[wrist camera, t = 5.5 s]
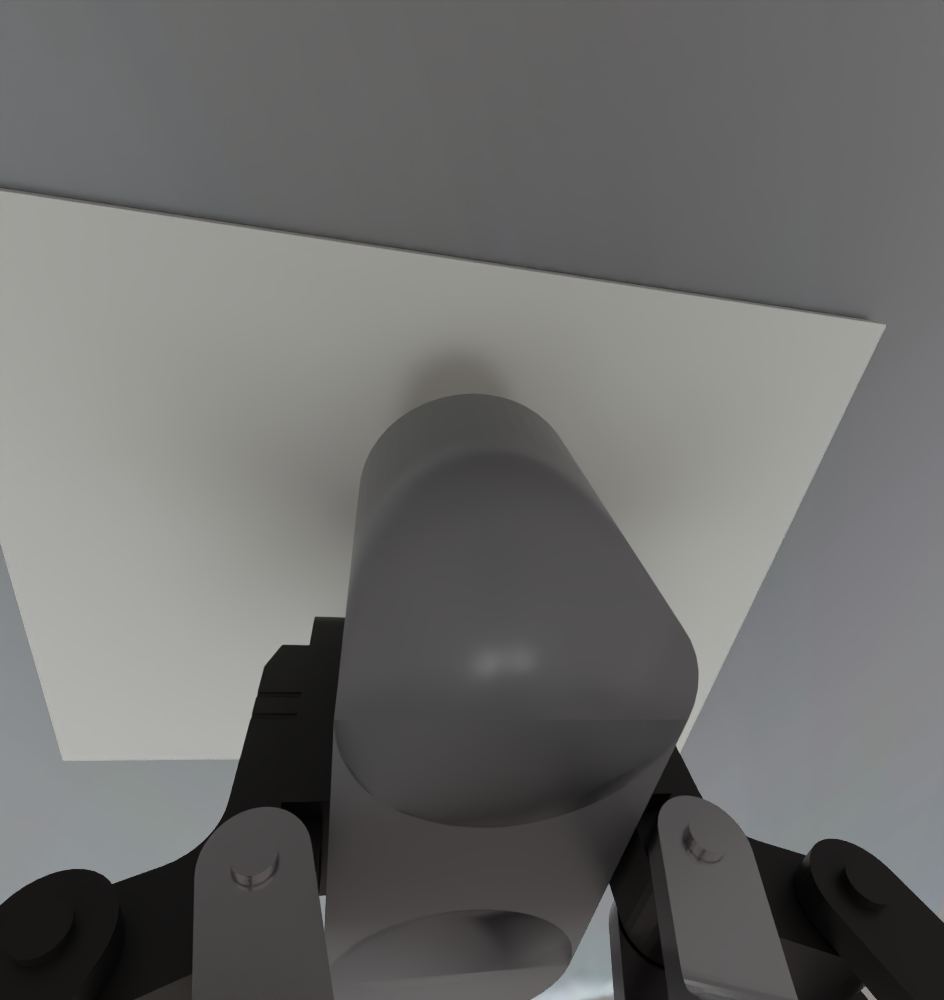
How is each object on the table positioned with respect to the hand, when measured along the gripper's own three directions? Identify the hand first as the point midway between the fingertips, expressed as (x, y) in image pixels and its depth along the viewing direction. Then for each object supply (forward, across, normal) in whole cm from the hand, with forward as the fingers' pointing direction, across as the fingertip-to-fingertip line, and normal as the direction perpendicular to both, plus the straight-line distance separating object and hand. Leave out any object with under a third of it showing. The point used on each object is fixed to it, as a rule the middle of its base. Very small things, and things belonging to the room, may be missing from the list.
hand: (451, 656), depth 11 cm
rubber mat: (+5, 0, +1) cm, 6 cm away
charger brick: (+1, 0, 0) cm, 1 cm away
